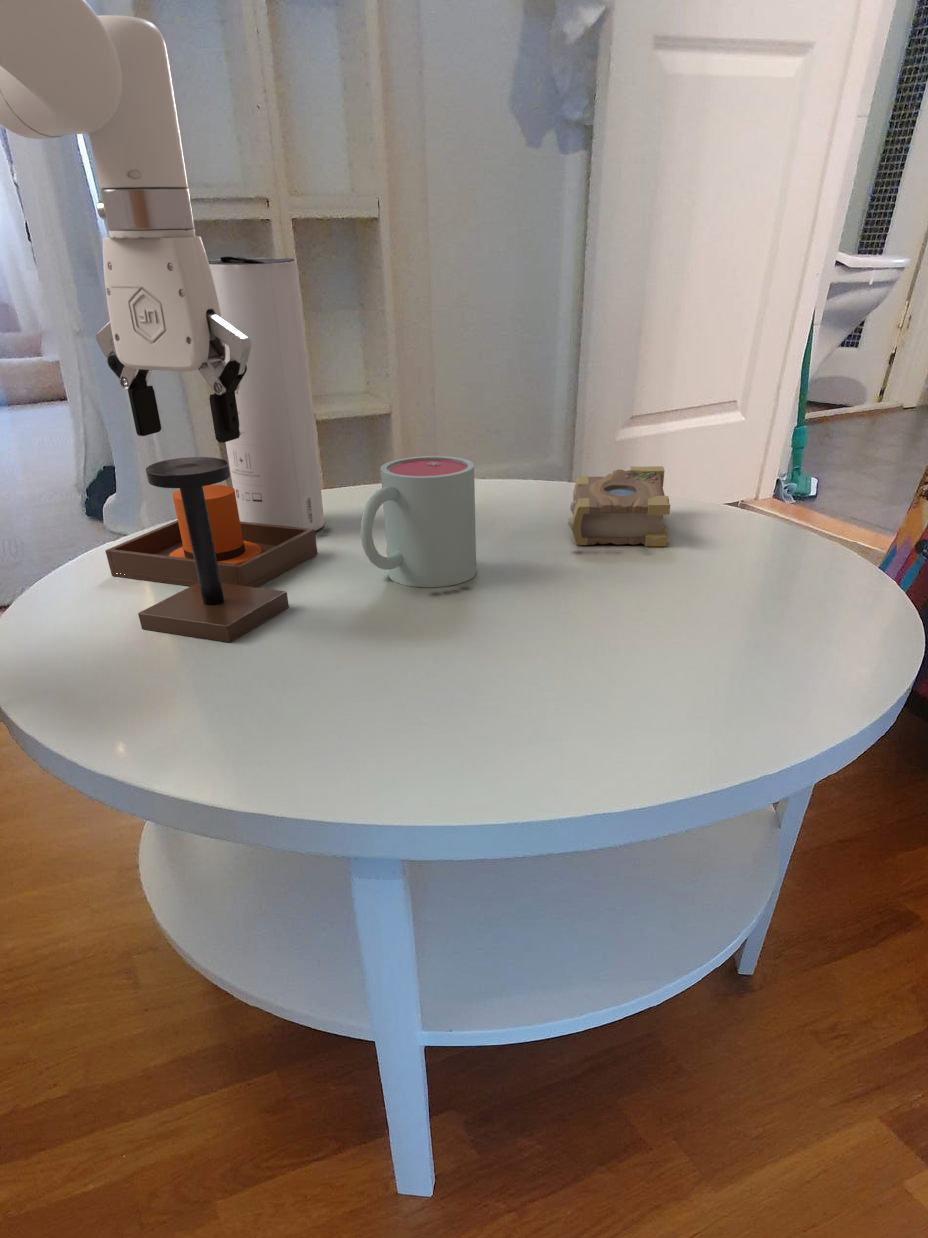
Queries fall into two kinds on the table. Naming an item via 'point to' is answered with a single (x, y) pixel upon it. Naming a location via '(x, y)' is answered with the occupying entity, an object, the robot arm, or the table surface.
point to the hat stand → (206, 566)
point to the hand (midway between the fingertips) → (188, 436)
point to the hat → (218, 527)
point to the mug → (425, 521)
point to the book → (620, 508)
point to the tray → (278, 555)
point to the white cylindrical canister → (271, 394)
